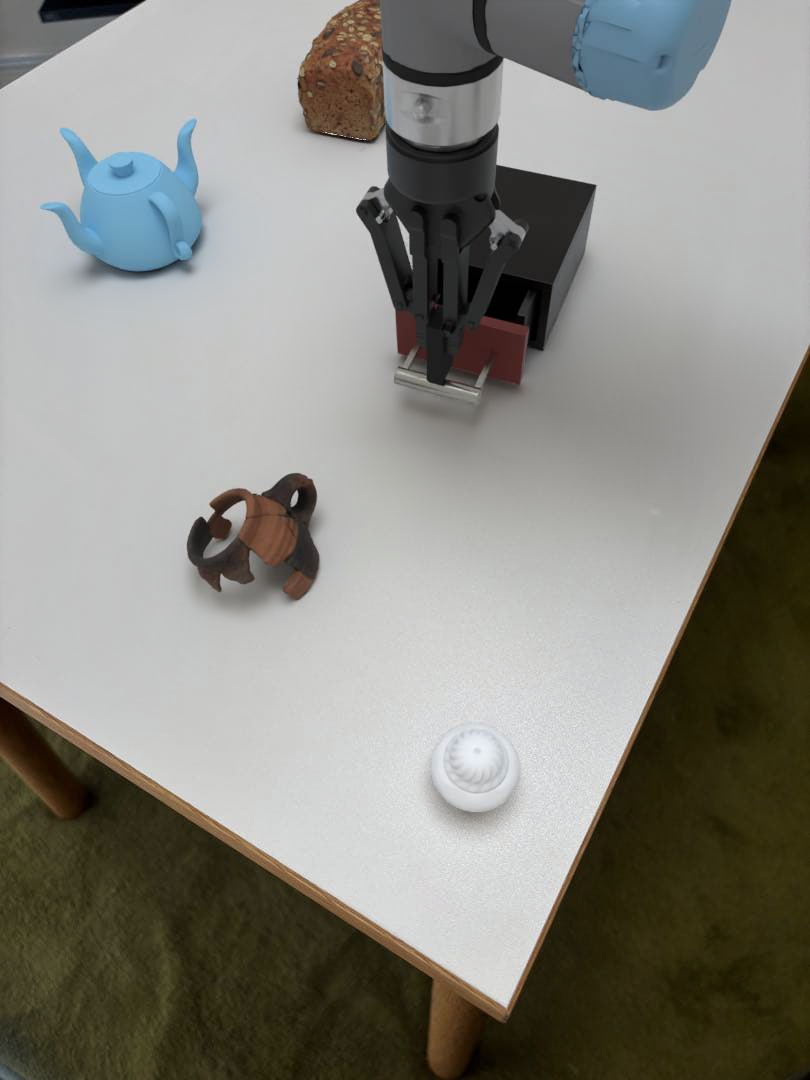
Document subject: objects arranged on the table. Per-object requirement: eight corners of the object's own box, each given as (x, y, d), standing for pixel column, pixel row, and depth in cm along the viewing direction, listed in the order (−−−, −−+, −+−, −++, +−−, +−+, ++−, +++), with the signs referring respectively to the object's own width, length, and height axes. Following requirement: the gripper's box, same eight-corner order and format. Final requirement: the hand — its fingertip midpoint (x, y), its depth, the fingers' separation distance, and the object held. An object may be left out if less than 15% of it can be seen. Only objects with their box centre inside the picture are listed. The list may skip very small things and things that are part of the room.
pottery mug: (287, 635, 66) (216, 588, 61) (227, 601, 73) (158, 556, 68) (365, 513, 69) (304, 457, 63) (300, 490, 76) (240, 438, 70)
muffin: (517, 743, 61) (526, 708, 55) (515, 828, 57) (524, 801, 51) (433, 735, 61) (433, 701, 55) (426, 820, 58) (425, 792, 52)
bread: (377, 147, 102) (371, 65, 93) (298, 132, 104) (286, 51, 95) (427, 70, 111) (426, -12, 102) (354, 58, 113) (347, -23, 105)
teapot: (204, 283, 89) (180, 199, 81) (67, 289, 89) (28, 206, 81) (217, 200, 97) (196, 115, 88) (91, 205, 97) (57, 121, 89)
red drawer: (498, 433, 75) (503, 385, 70) (372, 398, 78) (367, 349, 73) (561, 287, 85) (570, 235, 80) (448, 261, 88) (448, 209, 83)
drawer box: (543, 350, 82) (552, 284, 75) (414, 318, 85) (412, 251, 78) (584, 253, 90) (596, 184, 83) (465, 226, 93) (467, 158, 86)
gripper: (328, 133, 53) (356, 382, 73) (519, 174, 51) (495, 422, 71) (373, 73, 57) (388, 326, 77) (554, 108, 54) (521, 361, 74)
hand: (439, 372), depth 74 cm, fingers closed
